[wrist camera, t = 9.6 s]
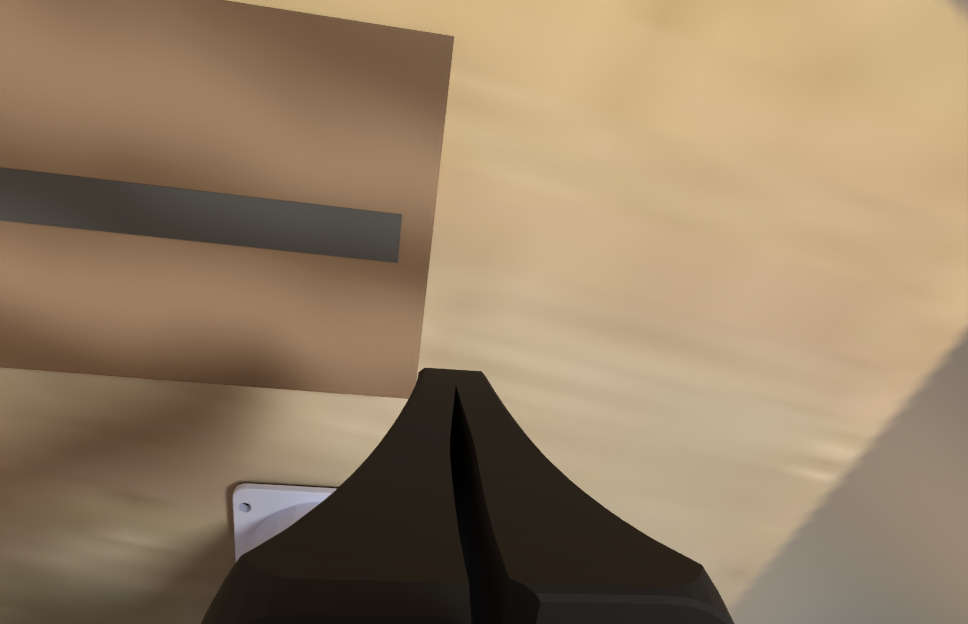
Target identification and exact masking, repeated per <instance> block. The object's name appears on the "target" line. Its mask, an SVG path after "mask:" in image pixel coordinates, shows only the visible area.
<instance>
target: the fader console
mask: <svg viewBox="0 0 968 624" xmlns="http://www.w3.org/2000/svg"><path fill="white" fill-rule="evenodd" d="M453 42H454V36H448V35H441V34H435V33H429V32H422V31H416V30H410V29H403V28H397V27H391V26H384V25H378V24H372V23H365V22H359V21H352V20H346V19H340V18H333V17H327V16H321V15H314V14H308V13H302V12H295V11H289V10H283V9H276V8H270V7H264V6H257V5H251V4H245V3H238V2H232V1H226V0H0V367H5V368H18V369H31V370H44V371H57V372H70V373H82V374H95V375H108V376H121V377H134V378H147V379H160V380H173V381H186V382H199V383H212V384H225V385H238V386H250V387H263V388H276V389H289V390H302V391H315V392H328V393H341V394H354V395H367V396H380V397H393V398H406V399H409V397H410V395H411V393H412V391H413V389H414V387H415V385H416V379H417V370H418V360H419V351H420V342H421V333H422V324H423V315H424V306H425V297H426V288H427V278H428V269H429V260H430V251H431V242H432V233H433V224H434V215H435V206H436V196H437V187H438V178H439V169H440V160H441V151H442V142H443V133H444V124H445V114H446V105H447V96H448V87H449V78H450V69H451V60H452V51H453Z"/></svg>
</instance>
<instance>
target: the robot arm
mask: <svg viewBox="0 0 968 624" xmlns="http://www.w3.org/2000/svg"><path fill="white" fill-rule="evenodd" d="M232 499H233V519H234V539H235V559H236V563H235V565H234V566H233V568H232V570H231V571H230V573H229V574H228V576H227V577H226V579H225V581H224V582H223V584H222V586H221V587H220V589H219V591H218V593H217V594H216V596H215V598H214V600H213V601H212V603H211V605H210V607H209V609H208V611H207V613H206V614H205V616H204V619H203V621H202V623H201V624H734V622H733V620H732V618H731V616H730V614H729V612H728V610H727V608H726V606H725V604H724V602H723V600H722V598H721V596H720V594H719V592H718V590H717V589H716V587H715V586H714V584H713V582H712V581H711V579H710V577H709V576H708V574H707V573H706V571H705V569H704V567H703V566H702V565H701V564H699V563H697V562H695V561H693V560H691V559H690V558H688V557H686V556H684V555H682V554H680V553H678V552H676V551H674V550H673V549H671V548H669V547H667V546H665V545H663V544H661V543H659V542H657V541H656V540H654V539H652V538H650V537H649V536H647V535H645V534H644V533H642V532H641V531H639V530H637V529H636V528H634V527H633V526H631V525H630V524H628V523H626V522H625V521H623V520H622V519H620V518H619V517H617V516H616V515H614V514H613V513H612V512H610V511H609V510H607V509H606V508H604V507H603V506H602V505H601V504H599V503H598V502H597V501H595V500H594V499H593V498H591V497H590V496H589V495H588V494H586V493H585V492H584V491H582V490H581V489H580V488H579V487H578V486H576V485H575V484H574V483H573V482H572V481H570V480H569V479H568V478H567V477H566V476H565V475H564V474H563V473H562V472H561V471H560V470H559V469H558V468H556V467H555V466H554V465H553V464H552V463H551V462H550V461H549V460H548V459H547V458H546V457H545V456H544V455H543V454H542V453H541V451H540V450H539V449H538V448H537V447H536V446H535V445H534V443H533V442H532V441H531V440H530V439H529V438H528V436H527V435H526V434H525V433H524V431H523V430H522V429H521V428H520V426H519V425H518V424H517V422H516V421H515V420H514V418H513V417H512V416H511V414H510V413H509V412H508V410H507V409H506V407H505V406H504V404H503V403H502V401H501V400H500V399H499V397H498V396H497V394H496V392H495V391H494V389H493V388H492V386H491V384H490V383H489V381H488V379H487V378H486V376H485V375H484V374H483V373H482V371H467V370H451V369H435V368H424V369H422V370H421V371H420V372H419V374H418V379H417V382H416V385H415V387H414V389H413V391H412V393H411V395H410V397H409V399H408V401H407V403H406V405H405V406H404V408H403V410H402V411H401V413H400V415H399V416H398V418H397V420H396V421H395V423H394V424H393V426H392V427H391V428H390V430H389V431H388V432H387V434H386V435H385V437H384V438H383V439H382V441H381V442H380V443H379V445H378V446H377V447H376V448H375V450H374V451H373V452H372V453H371V454H370V456H369V457H368V458H367V459H366V460H365V461H364V462H363V463H362V464H361V466H360V467H359V468H358V469H357V470H356V471H355V472H354V473H353V474H352V475H351V476H350V477H349V478H348V479H347V480H346V481H345V482H344V483H343V484H342V485H340V486H339V487H338V488H320V487H302V486H285V485H267V484H250V483H245V484H240V485H238V486H237V487H236V488H235V490H234V493H233V496H232ZM243 503H248V504H249V505H244V504H243Z"/></svg>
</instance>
